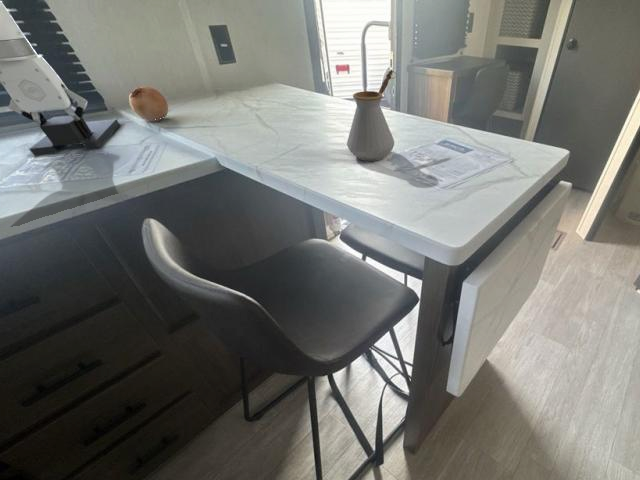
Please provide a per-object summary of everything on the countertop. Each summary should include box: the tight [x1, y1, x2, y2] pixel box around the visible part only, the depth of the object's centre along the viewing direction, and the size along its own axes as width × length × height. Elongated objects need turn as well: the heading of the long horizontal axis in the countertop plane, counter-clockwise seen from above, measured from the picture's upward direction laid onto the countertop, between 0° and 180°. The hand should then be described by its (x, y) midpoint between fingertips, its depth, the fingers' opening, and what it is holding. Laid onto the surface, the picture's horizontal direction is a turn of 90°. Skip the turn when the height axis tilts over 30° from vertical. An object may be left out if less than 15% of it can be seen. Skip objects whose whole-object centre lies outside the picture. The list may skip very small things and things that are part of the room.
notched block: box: [28, 118, 120, 156], centre depth 86 cm, size 14×20×2 cm
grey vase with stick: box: [346, 69, 398, 162], centre depth 75 cm, size 21×12×15 cm, turn 160°
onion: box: [128, 85, 169, 123], centre depth 94 cm, size 10×9×10 cm
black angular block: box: [39, 115, 92, 146], centre depth 80 cm, size 6×8×4 cm
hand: (72, 136), depth 81 cm, fingers closed on black angular block, 6 cm apart
